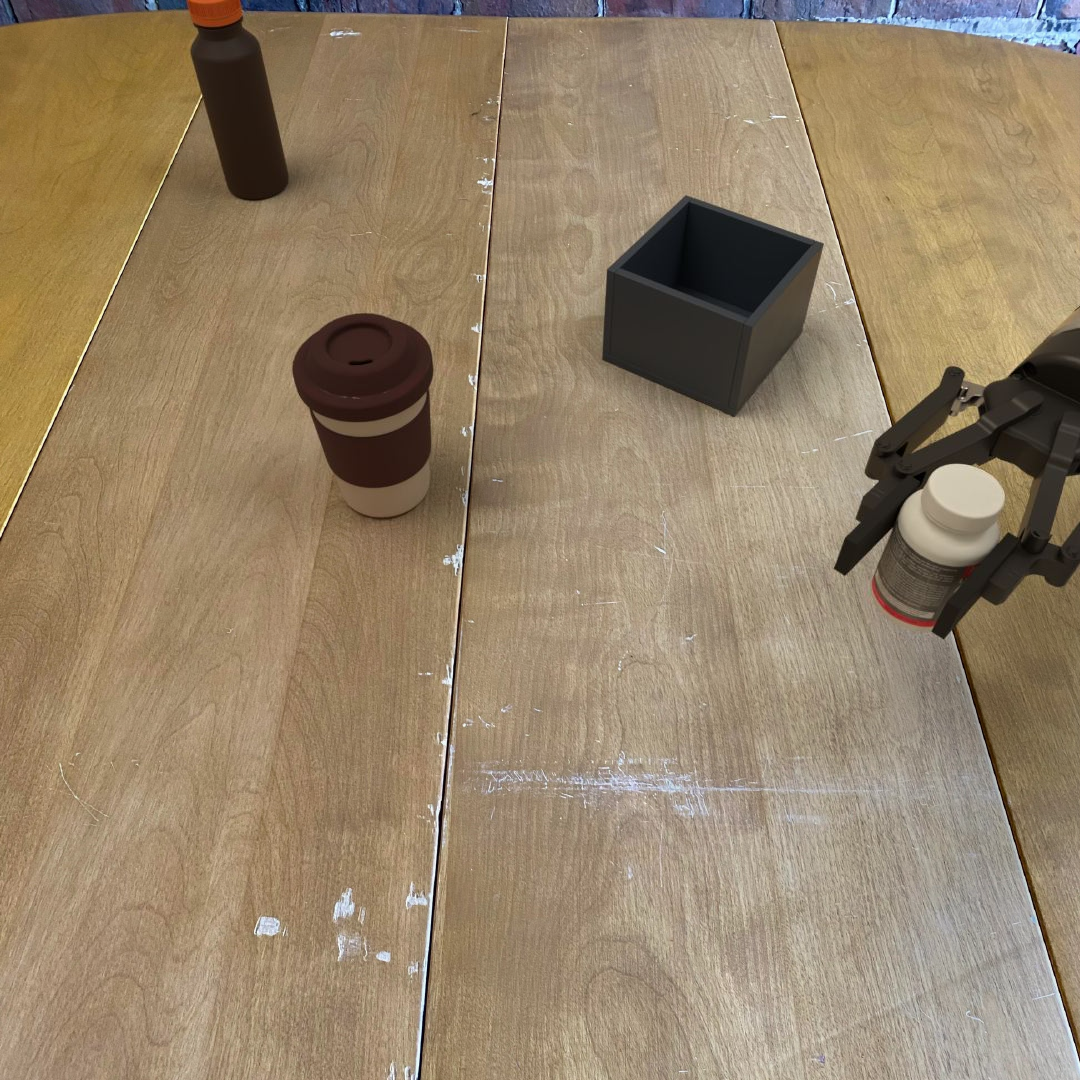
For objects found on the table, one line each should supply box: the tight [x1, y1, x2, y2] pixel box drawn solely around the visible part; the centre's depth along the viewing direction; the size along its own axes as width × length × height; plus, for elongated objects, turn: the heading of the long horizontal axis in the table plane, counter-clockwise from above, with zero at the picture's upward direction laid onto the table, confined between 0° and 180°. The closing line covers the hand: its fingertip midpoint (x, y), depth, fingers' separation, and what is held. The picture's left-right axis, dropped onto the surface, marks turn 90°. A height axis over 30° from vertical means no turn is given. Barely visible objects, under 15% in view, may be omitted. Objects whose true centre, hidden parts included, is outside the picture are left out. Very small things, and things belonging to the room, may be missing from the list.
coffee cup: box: [291, 312, 434, 518], centre depth 75 cm, size 10×10×15 cm
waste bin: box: [601, 195, 825, 417], centre depth 88 cm, size 14×14×10 cm
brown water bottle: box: [186, 0, 290, 200], centre depth 102 cm, size 7×7×20 cm
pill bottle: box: [869, 464, 1006, 633], centre depth 56 cm, size 5×5×10 cm
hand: (894, 587), depth 53 cm, fingers closed on pill bottle, 5 cm apart
